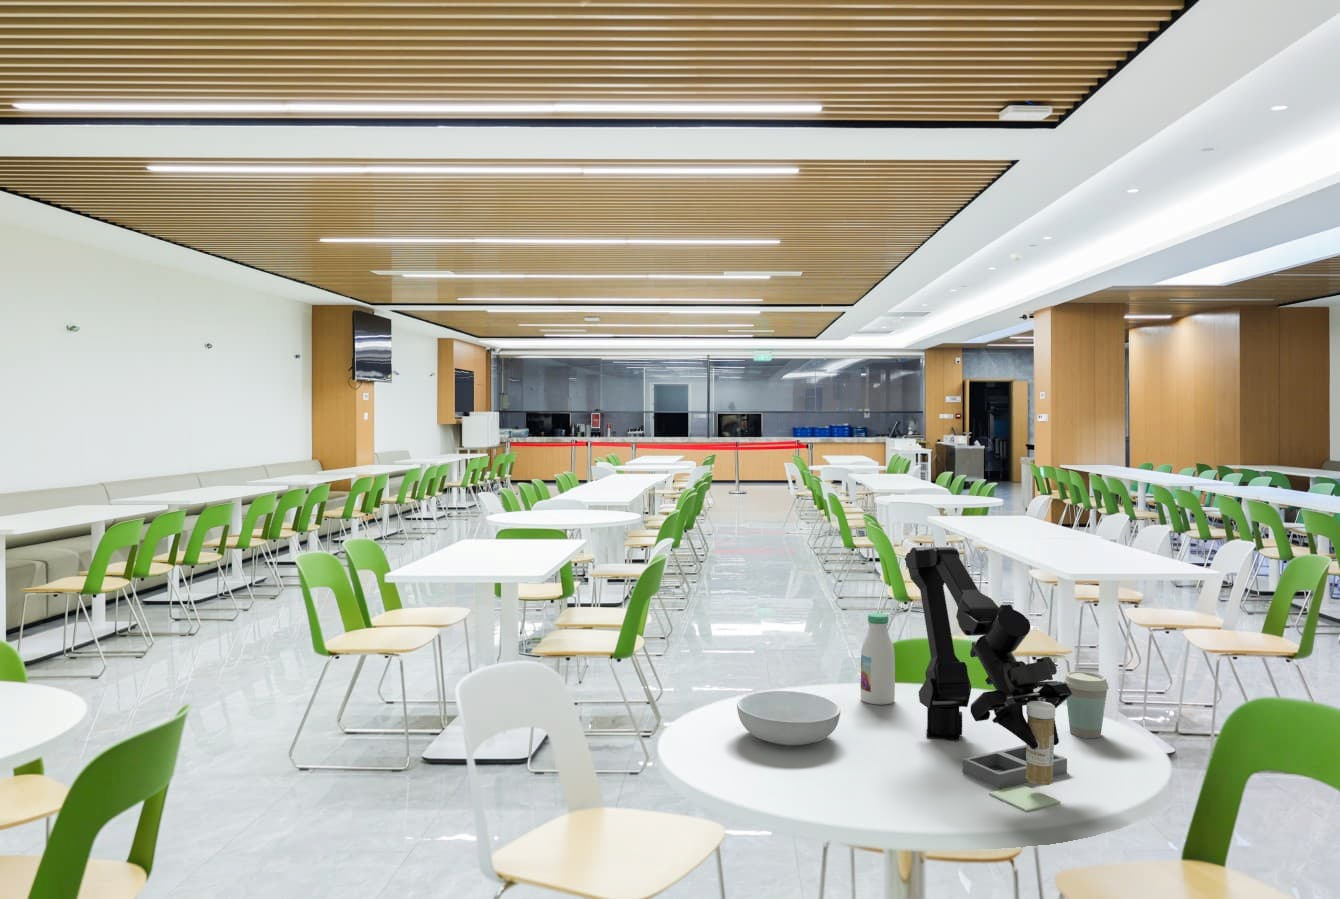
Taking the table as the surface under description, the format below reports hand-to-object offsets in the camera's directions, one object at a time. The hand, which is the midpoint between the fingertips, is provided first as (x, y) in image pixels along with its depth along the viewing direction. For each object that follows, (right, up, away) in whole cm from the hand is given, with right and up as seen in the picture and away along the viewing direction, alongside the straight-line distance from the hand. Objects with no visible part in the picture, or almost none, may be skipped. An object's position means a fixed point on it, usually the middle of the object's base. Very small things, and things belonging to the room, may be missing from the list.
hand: (1046, 745), depth 155 cm
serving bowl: (-40, -8, +30) cm, 51 cm away
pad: (-4, -9, 0) cm, 10 cm away
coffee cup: (+22, -8, +33) cm, 40 cm away
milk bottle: (-16, -8, +56) cm, 59 cm away
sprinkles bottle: (-1, -7, +1) cm, 7 cm away
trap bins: (-1, -9, +12) cm, 14 cm away
